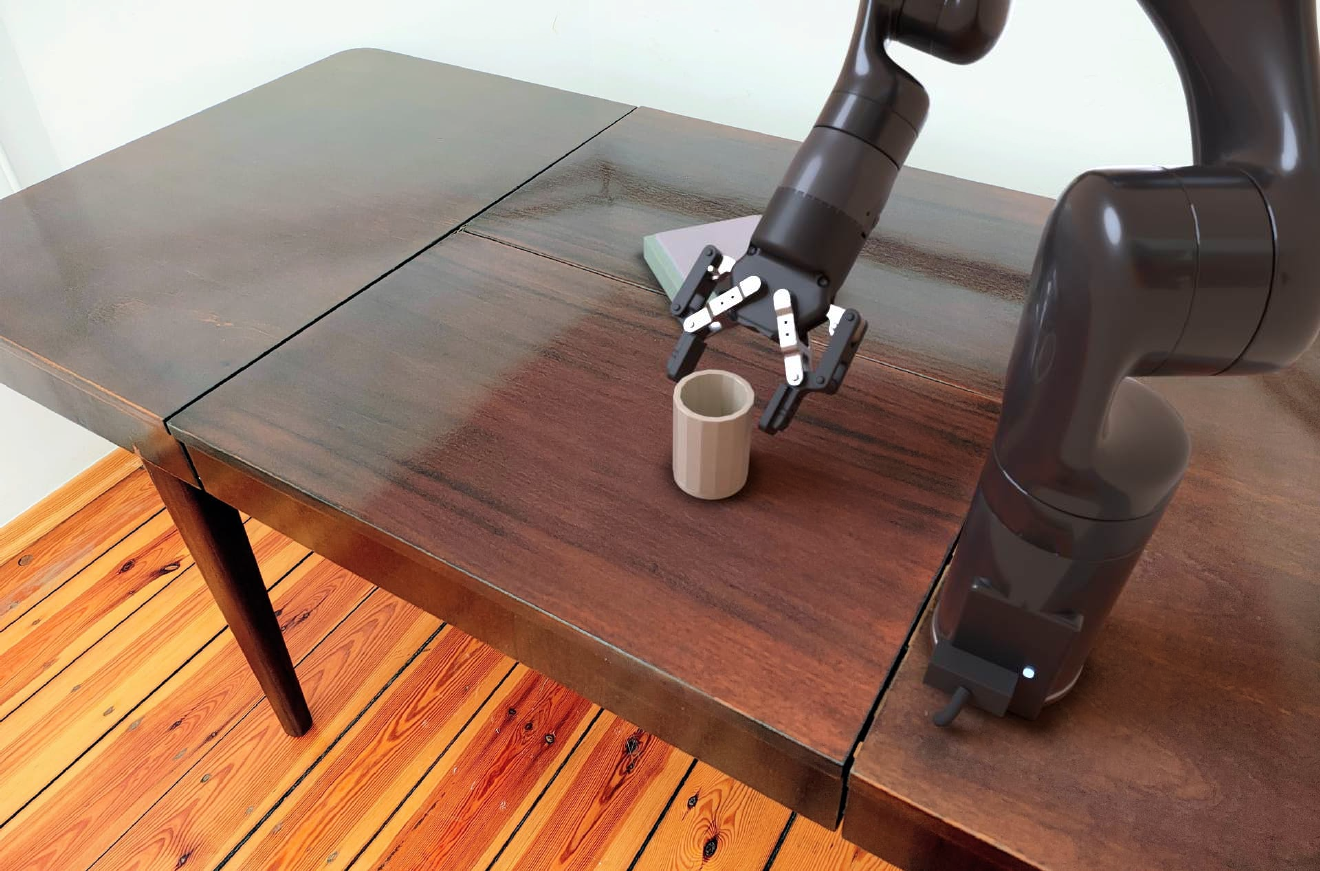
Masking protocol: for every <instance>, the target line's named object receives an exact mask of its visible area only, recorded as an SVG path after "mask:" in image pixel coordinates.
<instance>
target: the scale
mask: <svg viewBox="0 0 1320 871" xmlns="http://www.w3.org/2000/svg"><path fill="white" fill-rule="evenodd" d="M762 215H763V214H753V215H747V216H741V217H737V218H731V219H726V220H721V221H715V222H710V223H704V224H700V225H693V226H688V227H683V228H678V229H672V230H667V231H662V232H657V233H654V234H650V235H645V236H643V258H644V261H645V262H646V263H647V265H648V266H649V269H651V272H652V273H653V274H654V276H655V278H656V280H657V281H658V283H659V284H660V286H661V287H662V289H663V290H664V292H665V294H666V295H667V297H668V298H669V300H670V302H671V303H672V302H673V300H674V298H675V297H676V295H677V293H678V291H679V290H680V288H681V286H682V285H683V283H684V281H685V279H686V278H687V276H688V274H689V273H690V271H691V269H692V268H693V266H694V264H695V262H696V261H697V259H698V257H699V256H700V254H701V252H702V250H703V249H704V248H705V247H706V246H707V245H713V246H715V247H716V248H717V249H719V250H720V251H721V252H722V253H724V254H725V255H726V256H728V257H729V258H731V259H733V260H735V261H737V260H739V259H740V258H741V257H742V256H743V255H744V254H745V253H746V251H747V249H748V247H749V243H750V239H751V236H752V234H753V233H754V231H755V229H756V227H757V225H758V223H759V221H760V219H761V217H762ZM730 290H731V283H730V275H729V276H727V277H726V279H725V280H724V281H722V282H720V283H718V284H717V285H716V287H715V289H714V291H713V292H712V294H711V296H710V297H709V299H708V301H707V302H706V304H705V306H704V307H703V309H704V308H706V307H707V304H708V303H709V302H710V301H712V300H714V299H716V298H717V297H719V296H721V295H723V294H724V293H726V292H728V291H730Z"/></svg>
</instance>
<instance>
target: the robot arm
mask: <svg viewBox="0 0 1320 871" xmlns="http://www.w3.org/2000/svg"><path fill="white" fill-rule="evenodd" d="M1134 1H1135V3H1136V4H1137V5H1138V7H1139V8H1140V10H1141V11H1142V12H1143V14H1144V15H1145V17H1146V18H1147V20H1148V22H1149V23H1150V24H1151V26H1152V27H1153V29H1154V30H1155V32H1156V33H1157V35H1158V37H1159V38H1160V40H1161V42H1162V44H1163V45H1164V47H1165V49H1166V51H1167V53H1168V55H1169V57H1170V59H1171V62H1172V64H1173V66H1174V68H1175V71H1176V74H1177V76H1178V79H1179V82H1180V87H1181V90H1182V94H1183V98H1184V102H1185V107H1186V114H1187V119H1188V127H1189V135H1190V136H1189V137H1190V144H1191V158H1192V164H1183V165H1182V164H1178V165H1177V164H1172V165H1171V164H1170V165H1169V164H1167V165H1163V164H1162V165H1160V164H1159V165H1157V164H1156V165H1154V164H1153V165H1111V166H1110V165H1109V166H1108V165H1107V166H1100V167H1094V168H1090V169H1088V170H1085V171H1083V172H1081V173H1080V174H1078V175H1077V176H1075V177H1074V178H1073V179H1072V180H1070V182H1069V183H1068V184H1067V185H1066V186H1065V187H1064V188H1063V190H1062V191H1061V192H1060V194H1059V196H1057V199H1056V200H1055V202H1054V204H1053V206H1052V208H1051V210H1050V212H1049V214H1048V216H1047V218H1046V222H1045V224H1044V226H1043V229H1042V232H1041V235H1040V238H1039V243H1038V246H1037V249H1036V254H1035V257H1034V261H1033V265H1032V269H1031V273H1030V277H1029V281H1028V286H1027V291H1026V293H1025V294H1026V295H1025V299H1024V303H1023V308H1022V311H1021V315H1020V319H1019V323H1018V327H1017V330H1016V334H1015V338H1014V341H1013V345H1012V347H1011V348H1012V349H1011V352H1010V356H1009V359H1008V363H1007V369H1006V372H1005V378H1004V384H1003V393H1002V399H1001V406H1000V413H999V416H998V419H997V423H996V425H995V426H996V427H995V429H994V433H993V436H992V439H991V442H990V445H989V448H988V451H987V453H986V454H987V455H986V457H985V459H984V464H983V466H982V469H981V472H980V475H979V478H978V480H977V483H976V487H975V490H974V493H973V496H972V499H971V502H970V505H969V508H968V512H967V514H966V518H965V519H964V520H965V521H964V523H963V526H962V529H961V533H960V536H959V539H958V542H957V546H956V548H955V551H954V555H953V557H952V560H951V563H950V567H949V570H948V573H947V576H946V579H945V582H944V585H943V589H942V592H941V595H940V598H939V600H938V602H937V604H936V606H935V608H934V611H933V614H932V618H931V620H930V625H929V640H930V645H931V649H932V653H931V656H930V658H929V660H928V664H927V667H926V670H925V673H924V676H923V678H922V684H924V685H927V686H929V687H931V688H934V689H937V690H939V691H941V692H942V693H946V694H948V695H950V696H951V698H950V700H949V701H948V703H947V705H946V706H945V708H943V710H941V711H940V712H936V713H933V715H932V717H931V722H932V723H933V725H934V726H936V727H937V728H942V727H947V726H950V725H951V724H952V723H953V722H954V721H955V720H956V719H957V717H958V716H959V715H960V713H961V712H962V710H963V708H964V707H965V705H966V704H967V703H968V704H970V705H973V706H975V707H977V708H979V709H982V710H984V711H987V712H989V713H991V714H993V715H996V716H997V717H1000V718H1003V717H1004V716H1005V713H1006V711H1009V712H1011V713H1012V714H1013V713H1014V714H1015V715H1018V716H1020V717H1022V718H1025V719H1027V720H1030V721H1035V720H1037V718H1038V716H1039V714H1040V712H1041V710H1042V708H1045V707H1048V706H1051V705H1053V704H1055V703H1057V702H1058V701H1060V700H1062V699H1063V698H1065V697H1066V696H1067V695H1068V694H1069V692H1071V690H1072V689H1073V687H1074V686H1075V684H1076V682H1077V681H1078V679H1079V676H1080V675H1081V673H1082V670H1083V667H1084V664H1085V662H1086V660H1087V658H1088V656H1089V654H1090V652H1091V651H1092V649H1093V646H1094V645H1095V642H1096V641H1097V639H1098V637H1099V635H1100V633H1101V631H1102V630H1103V628H1104V625H1105V624H1106V622H1107V620H1108V618H1109V616H1110V615H1111V612H1113V609H1114V607H1115V605H1116V604H1117V602H1118V599H1119V598H1120V596H1121V594H1122V593H1123V590H1124V588H1125V586H1126V585H1127V583H1128V580H1129V579H1130V577H1131V576H1132V574H1133V573H1134V570H1135V568H1136V566H1137V564H1138V563H1139V561H1140V559H1141V557H1142V555H1143V553H1144V551H1145V549H1146V548H1147V545H1148V544H1149V542H1150V540H1151V539H1152V537H1153V535H1154V533H1155V532H1156V530H1157V528H1158V526H1159V524H1160V522H1161V521H1162V519H1163V517H1164V515H1165V513H1166V512H1167V509H1168V507H1169V505H1170V503H1171V502H1172V500H1173V498H1174V496H1175V495H1176V493H1177V491H1178V489H1179V487H1180V485H1181V483H1182V482H1183V480H1184V478H1185V476H1186V474H1187V471H1188V469H1189V467H1190V463H1191V460H1192V454H1193V442H1192V441H1193V440H1192V436H1191V434H1190V431H1189V428H1188V426H1187V424H1186V422H1185V421H1184V419H1183V417H1182V416H1181V415H1180V413H1179V411H1178V410H1177V409H1176V408H1175V407H1174V406H1173V405H1172V404H1171V403H1170V402H1169V401H1168V400H1167V399H1166V398H1164V396H1162V395H1161V394H1160V393H1158V392H1156V391H1155V390H1154V389H1152V388H1151V387H1150V386H1148V385H1147V384H1144V383H1143V382H1141V381H1139V380H1137V379H1135V378H1185V377H1186V378H1191V377H1193V378H1194V377H1196V378H1197V377H1199V378H1200V377H1251V376H1254V377H1255V376H1262V375H1269V374H1274V373H1276V372H1279V371H1282V370H1285V369H1286V368H1288V367H1289V366H1291V365H1292V364H1294V363H1295V362H1297V361H1298V360H1300V359H1301V358H1302V357H1303V356H1304V354H1305V353H1306V352H1307V351H1308V350H1309V348H1310V347H1311V346H1312V345H1313V343H1314V342H1315V341H1316V339H1317V337H1318V336H1319V333H1320V39H1319V38H1320V37H1319V29H1318V28H1319V27H1318V12H1317V10H1318V8H1317V0H1134ZM1015 3H1016V0H859V3H858V8H857V14H856V18H855V23H854V26H853V31H852V35H851V38H850V42H849V45H848V49H847V52H846V55H845V57H844V61H843V64H842V66H841V69H840V71H839V74H838V77H837V79H836V81H835V84H834V86H833V88H832V90H831V92H830V94H829V96H828V97H827V99H826V101H825V103H824V105H823V107H822V109H821V111H820V112H819V114H818V116H817V118H816V120H815V122H814V124H813V126H812V128H811V130H810V131H809V133H808V135H807V136H806V138H805V139H804V140H803V142H802V143H801V145H800V146H799V147H798V149H797V150H796V152H795V154H794V156H793V157H792V159H791V160H790V162H789V164H788V166H787V168H786V170H785V172H784V174H783V176H782V177H781V179H780V181H779V183H778V185H777V187H776V188H775V191H774V193H773V195H772V196H771V199H770V200H769V202H768V204H767V206H766V207H765V209H764V212H763V214H761V215H762V217H761V219H760V221H759V223H758V225H757V227H756V229H755V231H754V233H753V234H752V236H751V239H750V243H749V247H748V249H747V251H746V253H745V254H744V255H743V256H742V257H741V258H740V259H739V260H737V261H735V260H733V259H731V258H729V257H728V256H726V255H725V254H724V253H722V252H721V251H720V250H719V249H717V248H716V247H715V246H713V245H707V246H706V247H705V248H704V249H703V250H702V252H701V254H700V256H699V257H698V259H697V261H696V262H695V264H694V266H693V268H692V269H691V271H690V273H689V274H688V276H687V278H686V279H685V281H684V283H683V285H682V286H681V288H680V290H679V291H678V293H677V295H676V297H675V298H674V300H673V302H672V301H671V303H670V305H669V311H670V313H671V314H672V315H673V316H675V317H676V319H677V320H678V321H679V323H680V324H681V326H682V333H681V335H680V337H679V339H678V341H677V342H676V344H675V347H674V348H673V350H672V352H671V355H670V356H669V358H668V360H667V364H666V370H667V371H668V372H667V374H666V378H667V379H668V380H670V381H672V382H674V383H676V384H678V383H679V382H680V381H681V379H682V378H684V377H686V376H688V375H690V374H692V373H694V372H695V370H696V367H697V365H698V363H699V362H700V360H701V358H702V357H703V354H704V352H705V350H706V349H707V346H708V343H706V342H705V341H706V340H708V339H710V338H712V337H714V336H715V335H717V334H719V333H721V332H723V331H725V330H728V329H729V330H730V329H734V328H735V327H737V326H739V325H740V326H742V327H744V328H746V329H747V330H750V331H752V332H754V333H757V334H761V335H763V336H764V337H766V338H767V339H769V340H771V341H772V342H773V343H776V344H777V345H780V351H781V353H782V355H783V360H784V367H785V375H786V376H785V377H786V380H785V382H782V381H780V382H779V384H778V385H777V387H776V389H775V391H774V393H773V395H772V396H771V399H770V401H769V402H768V404H767V406H766V408H765V410H764V412H763V414H762V416H761V418H760V420H759V421H758V424H757V429H758V430H759V431H761V432H762V433H764V434H767V435H768V436H771V437H774V436H776V435H777V433H778V432H779V431H780V432H782V433H783V432H784V431H786V430H787V429H788V428H789V426H790V424H791V423H792V422H793V421H792V420H793V418H794V417H795V415H796V413H797V411H798V409H799V407H800V405H801V404H802V402H803V401H804V398H805V397H806V396H807V395H808V394H811V393H816V394H817V393H819V394H826V395H827V396H834V395H835V394H837V393H838V392H839V390H840V388H841V386H842V384H843V382H844V380H845V377H846V376H847V373H848V371H849V369H850V367H851V365H852V362H853V360H854V358H855V356H856V354H857V352H858V350H859V348H860V345H861V343H862V341H863V339H864V337H865V335H866V333H867V330H868V329H869V322H868V320H867V319H866V318H865V317H864V315H863V314H862V313H861V312H860V311H858V310H857V309H855V308H847V309H846V308H843V307H841V306H838V305H835V302H836V296H837V294H838V292H839V291H840V290H841V288H842V287H843V285H844V283H845V281H846V279H847V278H848V277H849V274H850V273H851V270H852V268H853V266H854V265H855V263H856V261H857V259H858V258H859V256H860V253H861V252H862V250H863V248H864V246H865V244H866V243H867V241H868V239H869V237H870V235H871V233H872V231H873V230H874V229H876V226H877V225H878V224H879V222H880V218H881V214H882V213H883V211H884V209H885V207H886V205H887V203H888V200H889V198H890V195H891V192H892V190H893V187H894V185H895V182H896V181H897V178H898V176H899V173H900V172H901V170H902V168H903V166H904V164H905V163H906V161H907V159H908V157H909V155H910V153H911V151H912V149H913V148H914V146H915V144H916V142H917V140H918V138H919V136H921V133H922V131H923V129H924V127H925V125H926V123H927V122H928V120H929V117H930V114H931V112H932V105H933V102H932V97H931V94H930V92H929V90H928V89H927V88H926V85H924V84H923V83H922V82H921V81H920V80H919V79H918V78H917V77H915V76H914V75H913V74H912V73H910V72H909V71H908V70H906V69H905V68H904V67H902V66H900V64H898V63H897V62H896V61H895V60H893V59H892V57H890V55H889V54H888V48H889V46H890V44H891V42H896V43H899V44H901V45H903V46H906V47H908V48H911V49H913V50H917V51H919V52H921V53H924V54H926V55H928V56H931V57H934V58H936V59H939V60H941V61H943V62H946V63H949V64H952V65H957V66H969V65H972V64H976V63H978V62H980V61H981V60H983V59H984V58H986V57H987V56H988V55H989V54H991V53H992V52H993V51H994V50H995V48H996V47H997V46H998V45H999V44H1000V43H1001V41H1002V39H1003V38H1004V36H1005V34H1006V32H1007V30H1008V28H1009V25H1010V22H1011V19H1012V15H1013V13H1014V8H1015ZM729 275H730V283H731V290H730V291H728V292H726V293H724V294H723V295H721V296H719V297H717V298H716V299H714V300H712V301H710V302H709V303H708V304H707V307H706V308H704V309H703V307H704V306H705V304H706V302H707V301H708V299H709V297H710V296H711V294H712V292H713V291H714V289H715V287H716V285H717V284H718V283H720V282H722V281H724V280H725V279H726V277H727V276H729ZM827 322H829V326H828V333H829V334H830V336H831V337H830V340H829V342H828V344H827V346H826V348H825V349H824V352H823V354H822V357H821V359H820V360H819V363H818V365H817V367H816V369H815V371H814V370H813V363H812V361H813V358H814V356H813V355H814V353H813V347H812V346H813V345H812V339H811V338H812V337H811V331H813V330H815V329H817V328H818V327H820V326H822V325H823V324H825V323H827Z"/></svg>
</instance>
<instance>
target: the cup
mask: <svg viewBox="0 0 1320 871" xmlns="http://www.w3.org/2000/svg"><path fill="white" fill-rule="evenodd" d="M672 404H673V405H672V474H673V478H674V481H675V483H676V484H677V486H678V487H679V488H680V489H681V490H682V491H683V492H685V493H686V494H688V495H690V496H692V497H694V498H698V499H701V500H722V499H726V498H729V497H732V496H733V495H735V494H737V493H738V492H739V491H740V490H741V489H742V488H743V487H744V486H745V484H746V482H747V480H748V475H749V474H748V473H749V463H750V452H751V439H752V430H753V416H754V406H755V405H754V404H755V391H754V390H753V387H752V385H751V384H750V383H749V382H748V381H747V380H746V379H744V378H743V377H742V376H740V375H738V374H737V373H734V372H730V371H727V370H723V369H711V368H710V369H704V370H699V371H693V373H692V374H690V375H688V376H686V377H684V378H682V379H681V381H680V382H679V383H676V385H675V386H674V390H673V396H672Z"/></svg>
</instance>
